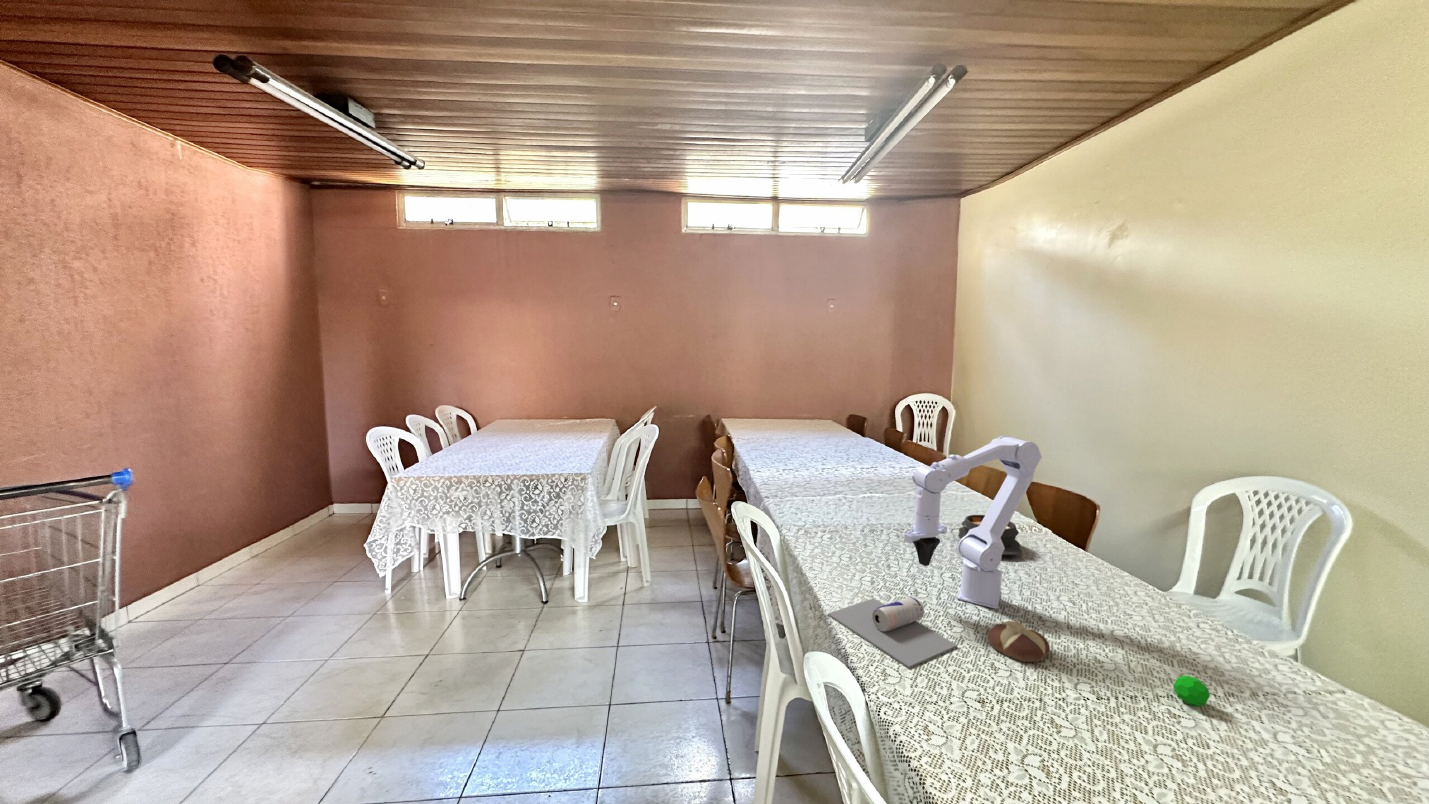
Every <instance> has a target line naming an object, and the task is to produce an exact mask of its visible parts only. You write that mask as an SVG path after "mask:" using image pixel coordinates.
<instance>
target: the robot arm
mask: <svg viewBox="0 0 1429 804" xmlns="http://www.w3.org/2000/svg"><path fill="white" fill-rule="evenodd" d="M1042 457H1043V456H1042V454H1041V451H1040V448H1039V446H1038V445H1037V443H1036V442H1033V441H1027V440H1023V439H1019V438H1015V437H1012V436H1009V435H1001V436H999V437H997V438H993V439H991V442H989V443H987V444H986V445H984V446H982V447H980V448H978V449H976V450H974V451H972V452H970V453H967V454H965V455H964V456H961V455H959V454H953V453H952V454H950V455H948V457H947V458H945V459H943V460H941V461H938V462H936V461H934V462H932V464H931V465H930V466H929V465H922V466H919V467H917V469H916V470H915V472H914V473H913V475H912V476H911V478H912V482H913V483H914V485H915V491H916V492H915V507H914V508H915V511H914V524H912V525H911V526H910V528H911V529H910V530H909V531H908V532H906V533H904V534H903V536H904V537H903V541H904V542H905V543H907V544H910V545H911V544H913V546H914V549H915V551H916V554H917V557H918V558H917V559H918V563H919V564H920V565H922V566H924V567H928V566H929V565H930V564H931V561H932V557H933V556H934V553H935V551H936V549H937V548H938V546H939V545H940V543H941V539H940V538H939V537H938V536H939V535H940V534H942V535H946V534H947V533H948V526H947V525H944V524H941V523H940V513H941V512H940V511H941V509H940V508H941V496H942V492H943V491H944V490H945V489H946V487H947V486H948V485H949V484H950V483H952V482H955V481H957V480H960V479H962V478H965V477H966V476H968V475H969V473H970V471H971V469H974V468H976V467H979V466H982V465H985V464H988V463H990V462H994V461H996V460H998V461H999V462H1000V463H1001V466H1003V468H1004V470H1005V472H1006V477H1005V478H1004V481H1003V483H1002V484H1001V486H1000V488H999V490H998V492H997V493H996V495H995V497H994V498H993V500H992V502H991V504H990V506H989V508H988V510H987V512H986V513H985V514H984V515H985V517H984V518H983V520H982V522H981V524H980V526H979V527H976V528H973V529H970V530H969V532H968V533H967V535H966V536H964V537H963V538H962V539H960V540H959V542H958V544H957V550H958V551H957V552H958V554H959V555H961V561H962V570H961V571H962V573H961V584H960V586H961V587H960V588H959V591H958V593H957V596H956V599H957V600H960V601H965V602H968V603H971V604H975V605H980V606H983V607H988V608H990V609H994V610H998V608H999V605H1000V600H1001V599H1002V594H1003V593H1002V579H1003V577H1002V576H1003V571H1002V570H1001V569H997V568H998V567H999V566H1000V565H1001V562H1002V557H1003V555H1002V553H1003V551H1004V549H1005V548H1004V545H1003V543H1002V541H1001V536H1002V534H1003V532H1004V530H1005V528H1006V527H1007V525H1008V523H1009V521H1010V522H1011V520H1012V518H1013V516H1014V514H1015V512H1016V510H1017V509H1018V507H1019V506H1020V503H1021V501H1022V500H1023V498H1024V496H1025V494H1026V493H1027V491H1028V488H1029V487H1030V485H1031V484H1032V482H1033V480H1034V476H1035V472H1036V468H1037V466H1038V465H1039V463H1040V461H1041V459H1043V458H1042ZM982 541H986V542H987V544H986V543H984V542H982Z"/></svg>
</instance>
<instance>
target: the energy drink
mask: <svg viewBox="0 0 1429 804" xmlns="http://www.w3.org/2000/svg"><path fill="white" fill-rule="evenodd" d="M924 615H925V609H924V606H923V604H922V602H921V601H920V600H919V599H918V598H916V597H915V596H909V597H905V598H903V599H900V600H896V601H893V602H890V603H887V604H885V605H884V606H880V607H878V608H876V609H875V610H874V611H873V613H872V619H873V622H874V624H875V626H876V627H877V628H878V629H879V630H880V631H890V630H893V629H896V628H898V627H901V626H904V625H907V624H910V623H912V622H918V621H920V620H922V619H923V618H924Z"/></svg>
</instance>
